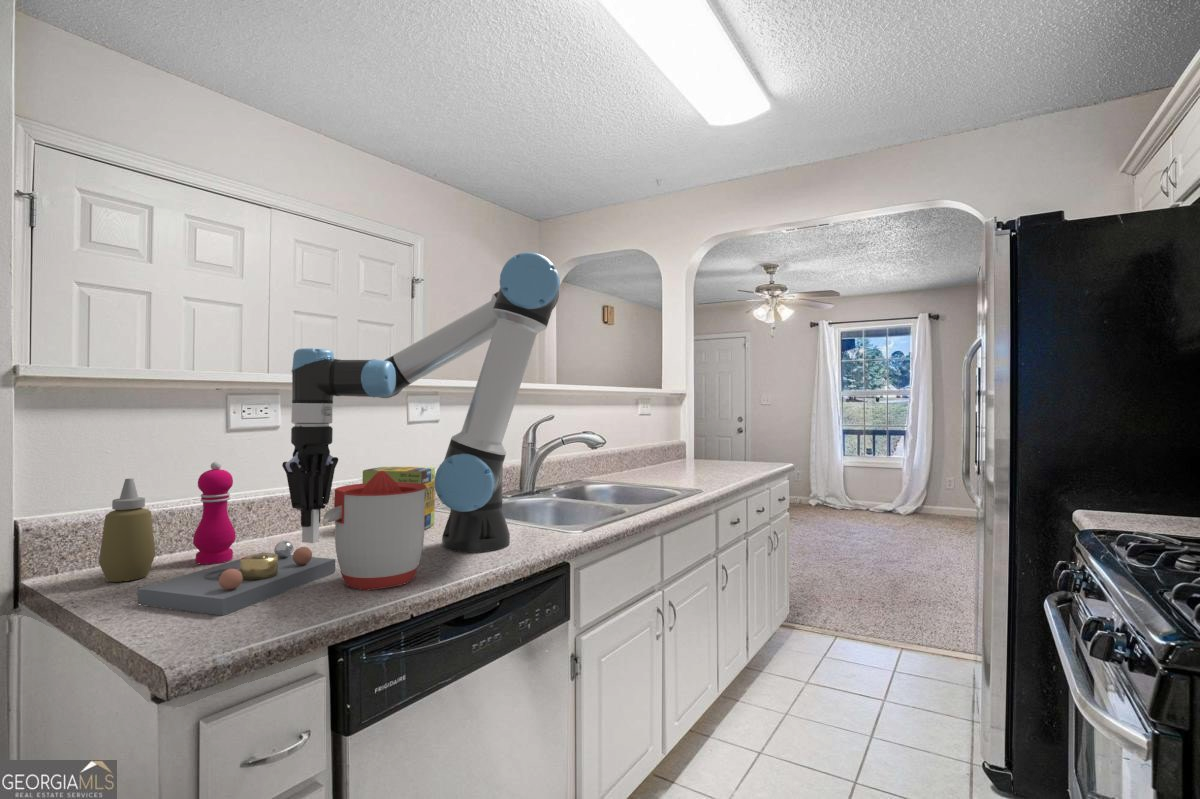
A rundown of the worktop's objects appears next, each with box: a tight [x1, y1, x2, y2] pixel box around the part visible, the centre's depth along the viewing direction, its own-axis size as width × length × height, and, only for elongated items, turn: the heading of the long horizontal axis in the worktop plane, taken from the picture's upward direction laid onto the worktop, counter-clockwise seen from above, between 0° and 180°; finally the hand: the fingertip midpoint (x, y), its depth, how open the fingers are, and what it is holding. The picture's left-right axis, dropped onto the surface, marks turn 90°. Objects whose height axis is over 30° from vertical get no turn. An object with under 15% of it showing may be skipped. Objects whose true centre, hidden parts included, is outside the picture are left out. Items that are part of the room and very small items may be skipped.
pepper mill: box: [192, 461, 237, 565], centre depth 119 cm, size 7×7×20 cm
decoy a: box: [292, 546, 313, 565], centre depth 107 cm, size 3×3×3 cm
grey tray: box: [137, 552, 336, 617], centre depth 102 cm, size 17×24×2 cm
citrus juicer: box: [322, 470, 426, 591], centre depth 105 cm, size 16×17×20 cm
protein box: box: [362, 466, 436, 531], centre depth 151 cm, size 10×15×16 cm
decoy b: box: [219, 569, 243, 590], centre depth 92 cm, size 3×3×3 cm
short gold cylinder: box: [240, 552, 278, 580], centre depth 100 cm, size 6×6×3 cm
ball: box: [273, 540, 294, 558], centre depth 112 cm, size 3×3×3 cm
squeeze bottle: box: [98, 477, 156, 583], centre depth 106 cm, size 8×8×18 cm
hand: (310, 541), depth 118 cm, fingers closed
